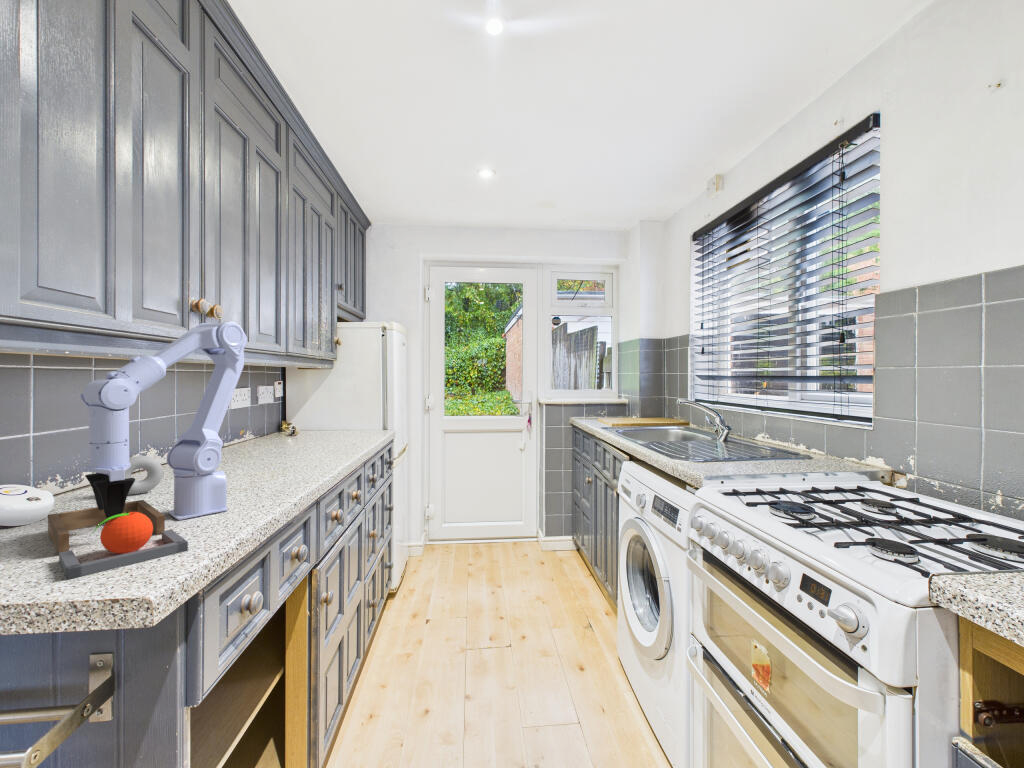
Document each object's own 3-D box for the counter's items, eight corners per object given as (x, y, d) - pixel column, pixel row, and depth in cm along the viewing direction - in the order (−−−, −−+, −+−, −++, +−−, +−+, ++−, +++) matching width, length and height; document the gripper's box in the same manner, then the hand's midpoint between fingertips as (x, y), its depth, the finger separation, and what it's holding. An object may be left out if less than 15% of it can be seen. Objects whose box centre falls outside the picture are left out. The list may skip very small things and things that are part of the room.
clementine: (99, 566, 71) (100, 522, 71) (85, 556, 74) (85, 514, 74) (159, 550, 78) (160, 510, 78) (143, 542, 81) (144, 503, 81)
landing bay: (171, 537, 84) (171, 529, 84) (187, 550, 78) (187, 541, 78) (59, 561, 72) (59, 552, 72) (67, 579, 66) (67, 569, 66)
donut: (114, 498, 110) (114, 459, 110) (112, 496, 112) (112, 457, 112) (164, 491, 117) (164, 454, 117) (161, 489, 119) (162, 452, 119)
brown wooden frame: (142, 515, 97) (142, 499, 97) (164, 533, 86) (164, 515, 86) (48, 532, 85) (48, 514, 85) (59, 555, 75) (59, 535, 75)
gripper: (74, 440, 85) (74, 510, 86) (86, 448, 76) (87, 526, 76) (122, 436, 91) (122, 502, 91) (139, 444, 82) (139, 516, 82)
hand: (109, 512), depth 84 cm, fingers open, 7 cm apart
